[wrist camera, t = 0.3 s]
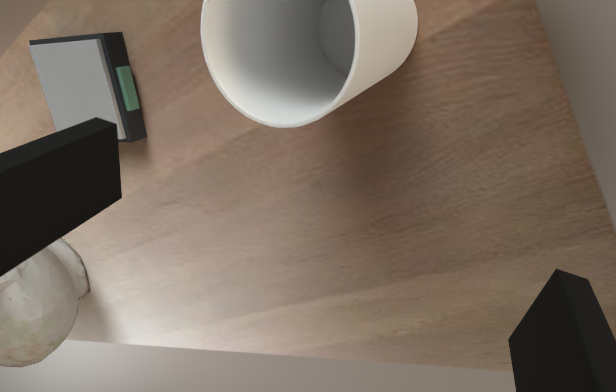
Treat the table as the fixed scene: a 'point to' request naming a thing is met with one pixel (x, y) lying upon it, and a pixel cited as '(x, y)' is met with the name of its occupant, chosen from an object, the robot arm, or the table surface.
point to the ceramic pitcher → (39, 304)
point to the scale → (89, 82)
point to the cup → (302, 53)
